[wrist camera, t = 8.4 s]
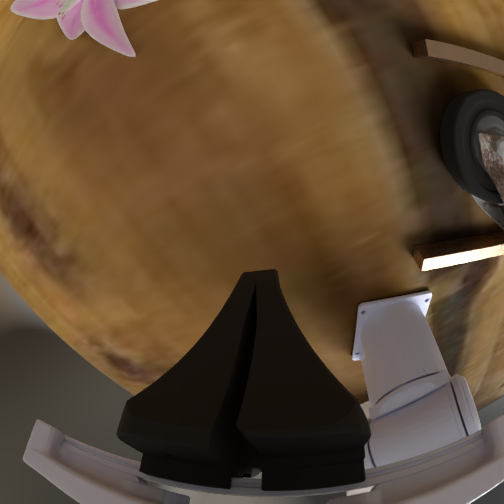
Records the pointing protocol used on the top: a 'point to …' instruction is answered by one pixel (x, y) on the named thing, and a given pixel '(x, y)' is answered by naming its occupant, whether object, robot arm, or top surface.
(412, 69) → the top surface
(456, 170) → the caster wheel
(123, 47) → the lily
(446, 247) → the motor mount
